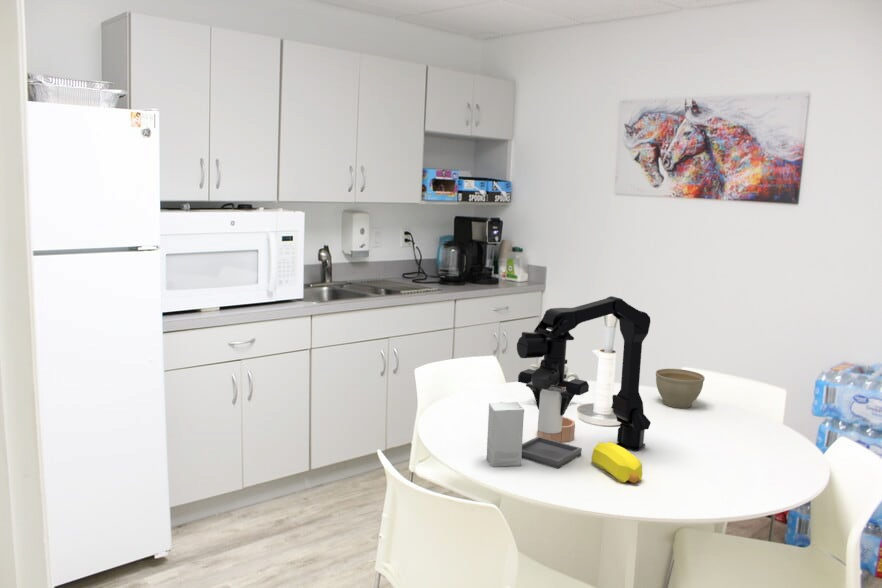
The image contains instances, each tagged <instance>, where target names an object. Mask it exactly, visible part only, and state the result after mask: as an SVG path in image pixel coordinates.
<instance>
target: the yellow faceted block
mask: <svg viewBox="0 0 882 588" xmlns="http://www.w3.org/2000/svg"><path fill="white" fill-rule="evenodd" d="M590 461H592V463H593V464H594V465H595V466H597V467H598V468H600V469H602V470H604V471H606V472H607V473H609V474H610V475H611V476H613V478H615V479H616V480H617V481H618V482H620V483H626V482H627V481H628V482H630V483H631V484H632V483H633V484H635V483H637V482H640V481H641V480H642V479H643V463H642V462H641V460H640V459H639V458H638V457H637V456H635V455H633V453H632V452H630V451H628V450H627V448H624V447H621V446H619V445H617V444H616V443H614V442H612V441H607V442H599V443H597V445H596V446H594V448H593V450H592V453H591V458H590Z"/></svg>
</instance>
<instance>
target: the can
mask: <svg viewBox="0 0 882 588" xmlns="http://www.w3.org/2000/svg"><path fill="white" fill-rule="evenodd" d="M561 392H563V388H562V387H559V386H555V385H551V386H550V388H548V389H542V390H541V392H540V401H539V410H538V416H537V417H538V418H537V431H538V430H539V431H540V432H542V433H546V434H558V433H560V432H561V430H562V419H563V417H564V415H562V416H561V415H560V410H561V401H562V396H561V394H560V393H561Z"/></svg>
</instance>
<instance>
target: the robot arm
mask: <svg viewBox="0 0 882 588" xmlns="http://www.w3.org/2000/svg"><path fill="white" fill-rule="evenodd" d="M608 315H613V317H615V318H616V319H617V320H618V321H619V330H620V333H621V335H622V339H623V351H622V352H623V353H622V355H623V356H622V364H621V366H622V367H621V382H620V389H619V391H618V393H617V394H613V395H612V403H611V407H610V409H612V413H613V414H614V415H615V417H616V418H615V419H616V421H617V422H619V423H620V424H619V427H618V428H617V435H616V436H617V437H616V441H617V442H616V443H615V444H617V445H619V446H621V447H623V448H624V449H626V450H627V449H628V450H632V451H636V452H637V451H639V450H641V449H642V448H645V447H646V443H644V441H645V440H644V439H645V431H646V430H649V428H650V426H651V424H652V423H651V421H650V420H649V418H648V417H647V416H646V415H645V413H644V411H645V410H644V402H643V399H642V397H641V394H640V391H639V389H640V377H641V361H642V349H643V342H644V340H645V339H646V337H647V335H648V334H649V330H650V326H651V317H650V316H649V314H648V313H647V312H645V311H641V310H639V309H637V308H635V307H634V306H632V305H630V304H629V303H628V302H627V301H625V300H623V298H620V297H617V296H613V295H612V296H611V295H610V296H608V297H606V298H603V299H600V300H596V301H592V302H589V303H585V304H582V305H577V306H574V307H553V308H551V307H550V308H549V309H547V310H545V313H544V314H543V317H542V319H541V320H540V321H539V323H538V325H537V326H536V327H535V329H534V330H533V332H532V331H531V332H528V331H522V332H521V336H519V338H518V339H517V340H518V341H517V342H516V351H517V352H516V353H517V355H518V356H519V358H520V359H533V358H534V359H535V358H536V359H537V358H543V359H541V360H540V361H541V362H540V363H541V364H540V367H539V368H538V369H537V370H535V369H531V368H528V369H525V370H522V371H520V372H518V376H517V383H522V384H525V387H527V388H529V389H530V390H531V391H532V395H533V397H534V400H535V403H536V408H537V410H538V411H539V401H540V392H541V390H542V389H548V388H550V386H551V385H555V386H559V387H564V388H565V391H564V392H561V393H560V394H561V396H562V401H561V410H560V415H561V416H562V415H563V416H564V414H565V413H566V410H567V409H568V407H569V405H570V403H571V401H572V400H573V398H574V397H575V396H581V395H584V394H586V393H588V392H589V387H590V385H589V382H588V381H587V380H583V379H580V378H579V379H575V378H574V379H571V380H568V381H565V380H564V379H565V378H566V374H564V370H565V366H566V365H567V364H568V359H566V355H567V354H566V353H567V352H566V351H567V341H574V340H575V337H574V336H573V335H572V334H571V333H570V331H571V330H574V329H575V328H576V327H577V326H578V325H579V324H582V323H585V322H588V321H591V320H595V319H598V318H599V319H600V318H602V317H606V316H608ZM558 382H559V383H558Z"/></svg>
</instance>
